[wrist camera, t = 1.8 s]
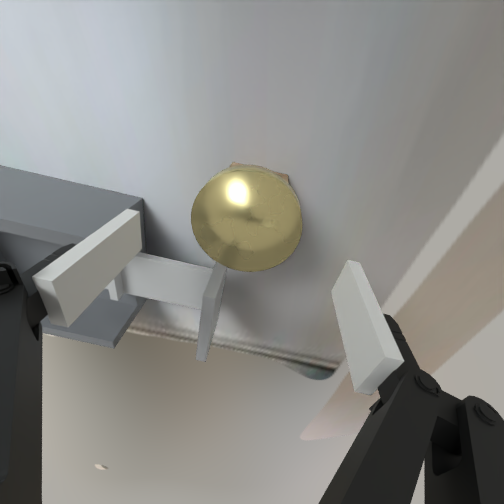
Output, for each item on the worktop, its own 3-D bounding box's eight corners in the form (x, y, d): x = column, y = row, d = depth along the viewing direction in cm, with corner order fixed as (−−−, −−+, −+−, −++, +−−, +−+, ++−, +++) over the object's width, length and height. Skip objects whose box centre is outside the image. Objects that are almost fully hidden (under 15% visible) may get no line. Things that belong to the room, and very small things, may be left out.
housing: (-16, 161, 24) (-131, 188, 17) (142, 198, 24) (89, 238, 18) (30, 268, 32) (-37, 315, 25) (149, 295, 32) (114, 348, 26)
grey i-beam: (84, 225, 23) (36, 258, 18) (228, 258, 23) (215, 298, 19) (100, 292, 28) (65, 331, 23) (218, 318, 28) (205, 361, 24)
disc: (201, 152, 16) (194, 158, 15) (316, 179, 16) (319, 187, 15) (194, 248, 21) (188, 259, 19) (284, 269, 21) (284, 281, 20)
